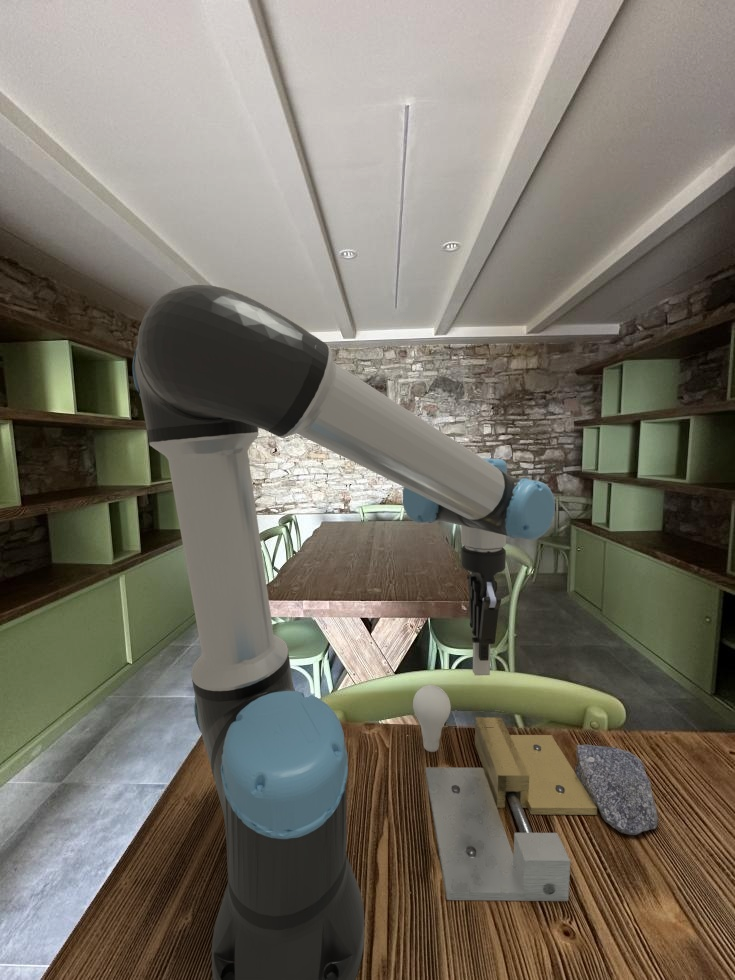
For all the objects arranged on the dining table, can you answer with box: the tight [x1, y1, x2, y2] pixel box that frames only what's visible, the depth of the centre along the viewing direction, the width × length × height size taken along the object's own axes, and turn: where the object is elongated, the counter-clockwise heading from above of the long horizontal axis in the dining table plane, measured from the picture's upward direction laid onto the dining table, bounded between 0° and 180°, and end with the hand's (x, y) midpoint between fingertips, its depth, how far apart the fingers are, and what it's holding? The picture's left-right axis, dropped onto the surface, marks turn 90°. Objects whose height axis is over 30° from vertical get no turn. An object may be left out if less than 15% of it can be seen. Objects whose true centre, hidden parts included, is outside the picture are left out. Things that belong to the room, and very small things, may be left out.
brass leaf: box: [474, 716, 598, 816], centre depth 62 cm, size 13×14×5 cm
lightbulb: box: [412, 684, 451, 753], centre depth 66 cm, size 6×6×11 cm
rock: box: [574, 743, 659, 836], centre depth 57 cm, size 12×5×10 cm
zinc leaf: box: [425, 766, 571, 902], centre depth 56 cm, size 14×24×5 cm, turn 0°
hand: (481, 672), depth 73 cm, fingers closed
